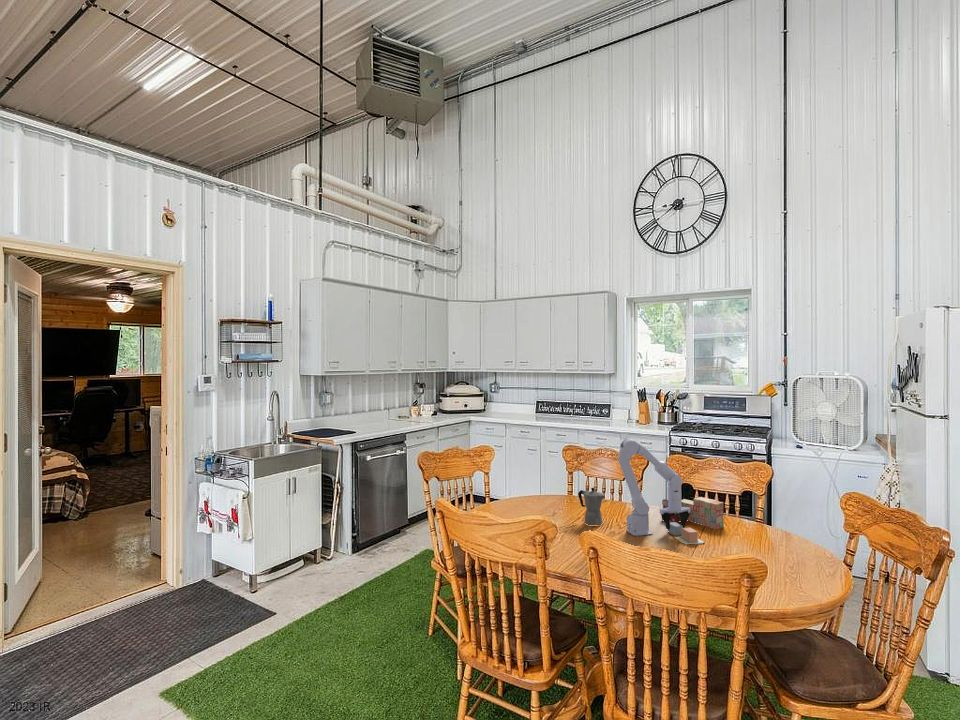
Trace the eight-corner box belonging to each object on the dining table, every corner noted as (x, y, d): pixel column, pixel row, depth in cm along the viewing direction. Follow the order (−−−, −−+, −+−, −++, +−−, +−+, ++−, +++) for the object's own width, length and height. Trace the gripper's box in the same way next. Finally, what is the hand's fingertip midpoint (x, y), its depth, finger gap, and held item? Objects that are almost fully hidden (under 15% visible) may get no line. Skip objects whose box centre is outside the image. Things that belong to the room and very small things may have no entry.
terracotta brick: (689, 542, 221) (689, 532, 221) (681, 537, 227) (681, 528, 227) (697, 541, 221) (697, 531, 222) (689, 537, 227) (689, 527, 227)
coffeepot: (610, 524, 249) (609, 488, 249) (599, 529, 242) (599, 491, 243) (584, 518, 260) (583, 483, 260) (573, 522, 254) (572, 486, 254)
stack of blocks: (677, 518, 258) (677, 494, 258) (685, 516, 261) (684, 493, 261) (716, 529, 240) (716, 503, 240) (724, 527, 243) (723, 501, 243)
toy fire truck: (680, 526, 245) (679, 504, 245) (658, 520, 256) (658, 499, 256) (688, 523, 249) (688, 502, 249) (667, 517, 259) (666, 497, 260)
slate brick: (675, 536, 231) (675, 526, 231) (667, 532, 237) (667, 522, 237) (683, 535, 232) (682, 526, 232) (675, 531, 238) (675, 522, 238)
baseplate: (686, 545, 219) (685, 543, 219) (674, 538, 228) (674, 537, 228) (704, 543, 221) (704, 542, 221) (692, 537, 230) (692, 535, 230)
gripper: (665, 502, 230) (665, 532, 229) (693, 500, 232) (694, 529, 232) (657, 498, 237) (657, 527, 236) (685, 496, 239) (685, 525, 239)
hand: (675, 528), depth 235 cm, fingers open, 7 cm apart
